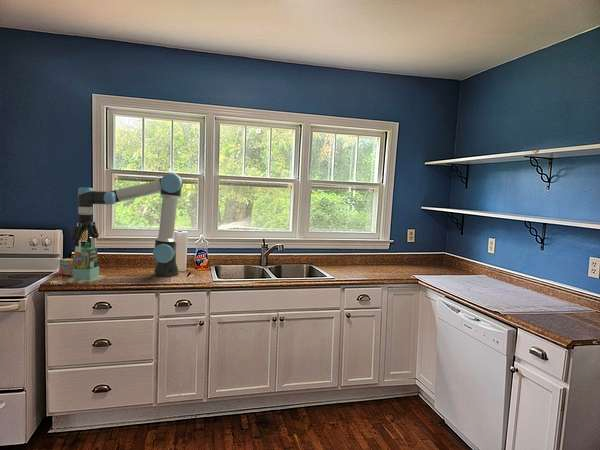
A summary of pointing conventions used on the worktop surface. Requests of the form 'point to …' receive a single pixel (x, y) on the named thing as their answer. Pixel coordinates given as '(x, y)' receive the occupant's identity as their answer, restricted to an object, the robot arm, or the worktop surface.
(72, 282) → the build plate
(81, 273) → the brick
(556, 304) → the worktop surface
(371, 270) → the worktop surface
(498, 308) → the worktop surface
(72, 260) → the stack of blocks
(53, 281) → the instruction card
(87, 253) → the chalk box
